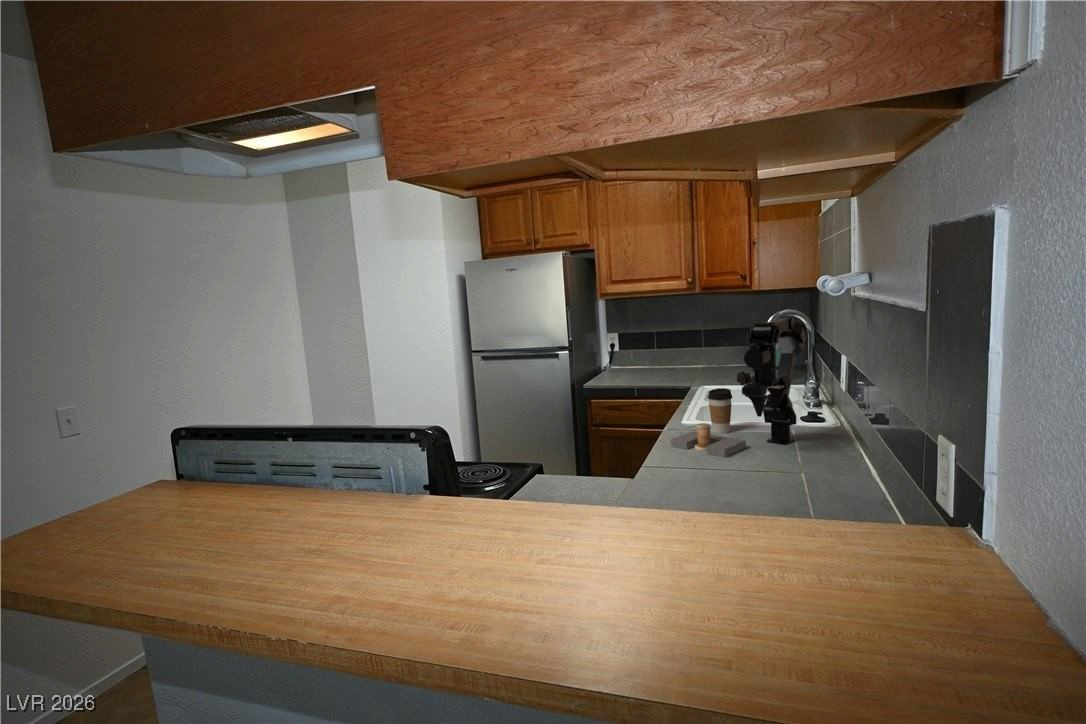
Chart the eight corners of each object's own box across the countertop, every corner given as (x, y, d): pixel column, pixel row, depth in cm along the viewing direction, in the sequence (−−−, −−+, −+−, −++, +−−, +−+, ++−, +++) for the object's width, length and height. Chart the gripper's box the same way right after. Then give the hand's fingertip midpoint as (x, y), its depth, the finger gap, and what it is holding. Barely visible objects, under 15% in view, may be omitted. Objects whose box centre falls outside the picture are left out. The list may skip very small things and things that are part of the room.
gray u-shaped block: (692, 438, 193) (692, 431, 192) (745, 448, 177) (745, 440, 177) (671, 446, 185) (670, 439, 185) (724, 457, 170) (724, 449, 169)
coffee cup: (737, 430, 199) (736, 389, 197) (727, 435, 193) (725, 393, 191) (715, 427, 204) (714, 387, 202) (704, 432, 198) (703, 391, 196)
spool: (701, 445, 184) (700, 421, 183) (717, 448, 179) (716, 424, 178) (691, 449, 180) (690, 425, 179) (707, 452, 176) (706, 428, 175)
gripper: (757, 358, 181) (758, 404, 183) (725, 366, 169) (726, 416, 171) (790, 359, 173) (791, 408, 175) (759, 368, 161) (760, 420, 163)
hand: (767, 413), depth 171 cm, fingers open, 9 cm apart
